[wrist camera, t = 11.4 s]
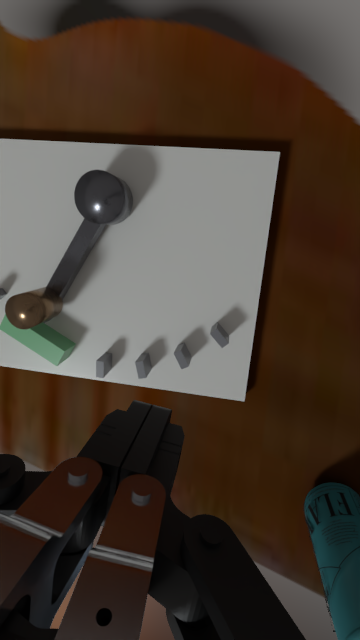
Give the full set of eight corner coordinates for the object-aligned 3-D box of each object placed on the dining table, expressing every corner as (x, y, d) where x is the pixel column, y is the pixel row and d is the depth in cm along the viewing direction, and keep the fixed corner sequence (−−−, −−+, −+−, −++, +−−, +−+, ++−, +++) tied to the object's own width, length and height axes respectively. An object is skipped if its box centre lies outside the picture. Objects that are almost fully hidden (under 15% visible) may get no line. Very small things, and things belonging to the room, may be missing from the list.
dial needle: (103, 165, 31) (76, 151, 26) (141, 193, 31) (122, 185, 26) (28, 303, 36) (-8, 315, 30) (61, 327, 36) (31, 343, 30)
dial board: (-22, 141, 34) (-54, 129, 30) (277, 155, 30) (284, 144, 26) (-6, 359, 40) (-31, 372, 37) (244, 394, 36) (245, 413, 33)
